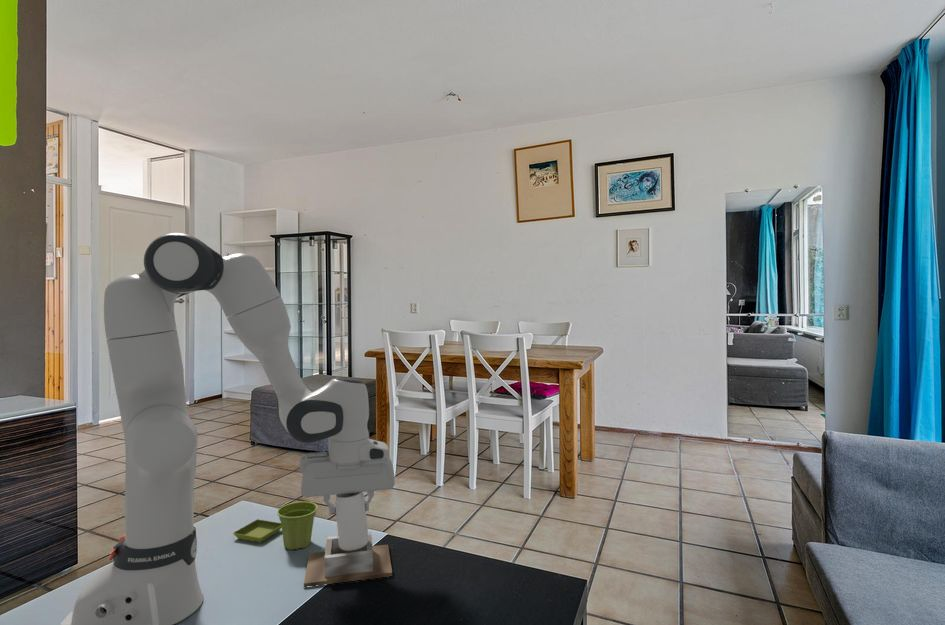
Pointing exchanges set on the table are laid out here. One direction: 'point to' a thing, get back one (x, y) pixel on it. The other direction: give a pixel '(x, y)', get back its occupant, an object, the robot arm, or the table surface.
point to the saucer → (258, 530)
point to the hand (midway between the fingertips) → (348, 511)
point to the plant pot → (297, 523)
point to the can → (351, 521)
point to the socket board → (347, 563)
